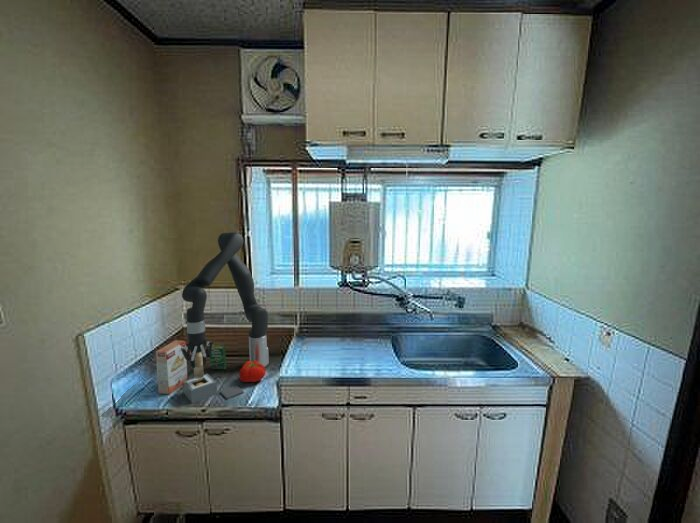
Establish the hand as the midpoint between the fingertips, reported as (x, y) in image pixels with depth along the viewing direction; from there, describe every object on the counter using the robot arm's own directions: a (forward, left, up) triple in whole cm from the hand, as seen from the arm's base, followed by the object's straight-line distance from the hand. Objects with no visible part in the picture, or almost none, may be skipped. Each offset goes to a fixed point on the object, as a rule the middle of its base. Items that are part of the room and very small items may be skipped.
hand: (198, 365), depth 152 cm
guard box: (0, 0, -14) cm, 14 cm away
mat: (-11, +9, -14) cm, 20 cm away
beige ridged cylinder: (0, 0, -5) cm, 5 cm away
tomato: (-24, +5, -14) cm, 28 cm away
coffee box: (-16, -19, -14) cm, 28 cm away
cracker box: (+7, -15, -14) cm, 22 cm away
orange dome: (0, 0, -12) cm, 12 cm away
